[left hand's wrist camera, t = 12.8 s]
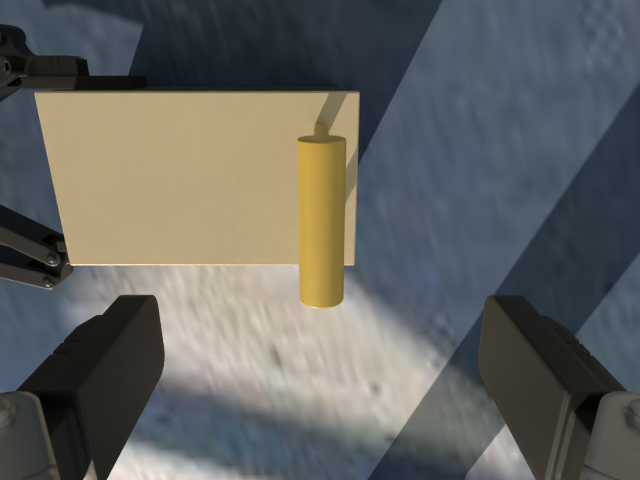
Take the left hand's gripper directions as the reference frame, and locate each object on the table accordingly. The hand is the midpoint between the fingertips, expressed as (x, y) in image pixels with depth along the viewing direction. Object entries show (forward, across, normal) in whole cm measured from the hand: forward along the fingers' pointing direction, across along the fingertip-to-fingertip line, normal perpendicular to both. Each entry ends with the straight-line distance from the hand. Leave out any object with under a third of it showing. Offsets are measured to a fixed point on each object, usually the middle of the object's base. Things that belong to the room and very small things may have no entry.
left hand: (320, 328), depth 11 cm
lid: (+16, +6, 0) cm, 17 cm away
